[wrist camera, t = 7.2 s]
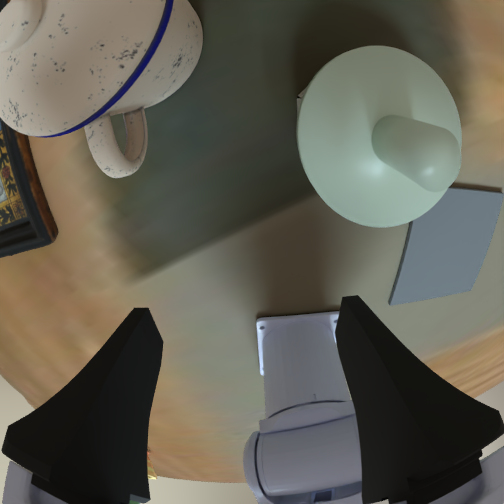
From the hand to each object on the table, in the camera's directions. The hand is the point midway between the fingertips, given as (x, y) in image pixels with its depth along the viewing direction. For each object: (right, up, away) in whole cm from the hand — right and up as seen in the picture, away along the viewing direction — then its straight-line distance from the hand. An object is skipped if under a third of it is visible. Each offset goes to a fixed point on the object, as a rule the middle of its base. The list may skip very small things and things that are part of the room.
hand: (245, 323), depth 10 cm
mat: (+19, +3, +11) cm, 22 cm away
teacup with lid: (-7, +14, +3) cm, 16 cm away
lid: (+8, +9, +3) cm, 12 cm away
